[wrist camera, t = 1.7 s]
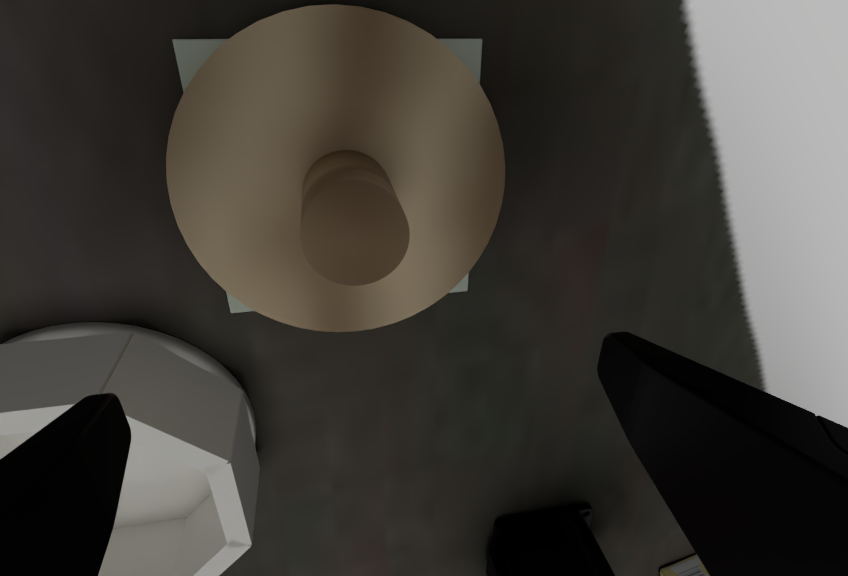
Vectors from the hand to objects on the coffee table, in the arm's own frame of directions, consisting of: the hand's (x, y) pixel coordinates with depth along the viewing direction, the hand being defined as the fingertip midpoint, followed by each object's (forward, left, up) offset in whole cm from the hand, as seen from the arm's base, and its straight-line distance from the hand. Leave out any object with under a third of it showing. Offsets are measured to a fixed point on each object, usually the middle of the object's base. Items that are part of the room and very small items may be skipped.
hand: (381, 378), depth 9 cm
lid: (0, 0, -11) cm, 11 cm away
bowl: (+11, +11, -12) cm, 19 cm away
